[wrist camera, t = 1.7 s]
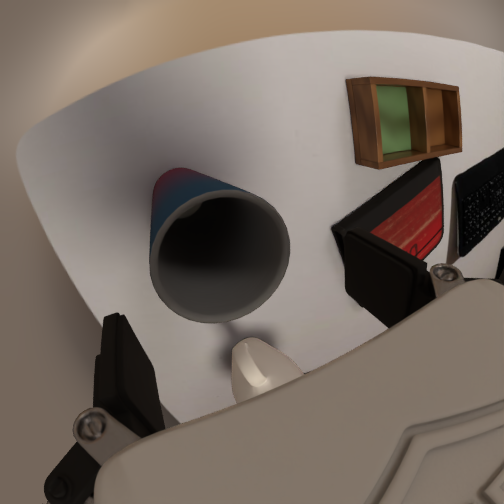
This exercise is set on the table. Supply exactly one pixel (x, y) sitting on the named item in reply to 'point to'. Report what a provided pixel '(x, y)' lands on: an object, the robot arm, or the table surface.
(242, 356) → the mug
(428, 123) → the wooden compartment tray
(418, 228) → the binder
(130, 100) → the table surface
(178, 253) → the cup
